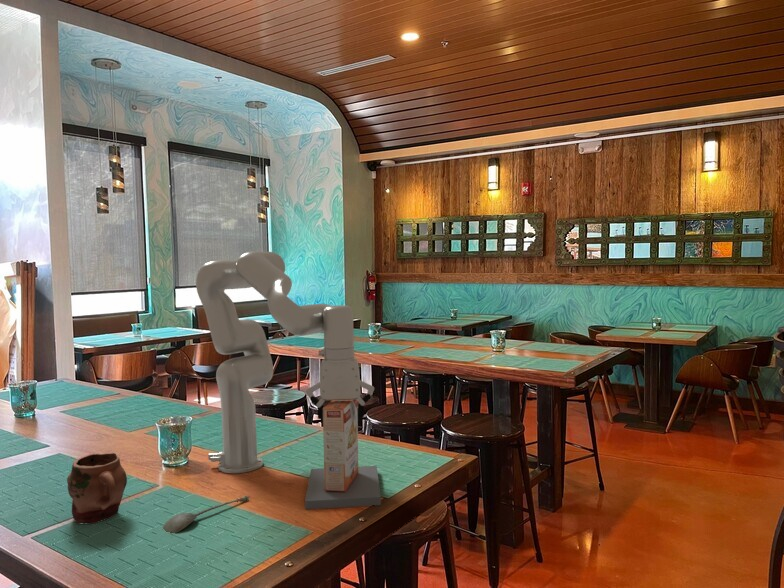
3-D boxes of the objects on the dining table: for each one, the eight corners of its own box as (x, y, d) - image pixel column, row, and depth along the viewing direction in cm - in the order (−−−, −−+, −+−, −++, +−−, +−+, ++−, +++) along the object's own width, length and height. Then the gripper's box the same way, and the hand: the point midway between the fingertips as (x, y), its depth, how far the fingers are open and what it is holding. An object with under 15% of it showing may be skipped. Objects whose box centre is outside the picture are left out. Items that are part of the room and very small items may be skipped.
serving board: (305, 509, 139) (304, 501, 139) (311, 476, 161) (310, 468, 161) (381, 505, 140) (380, 496, 140) (376, 472, 162) (376, 465, 162)
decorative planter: (146, 519, 136) (143, 460, 136) (92, 539, 127) (89, 475, 126) (105, 499, 149) (102, 445, 148) (54, 516, 139) (50, 458, 139)
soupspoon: (156, 532, 132) (171, 542, 127) (155, 518, 131) (170, 527, 127) (240, 498, 148) (255, 505, 144) (239, 485, 148) (255, 492, 143)
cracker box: (347, 492, 143) (344, 408, 142) (323, 491, 144) (320, 407, 143) (360, 472, 157) (358, 395, 156) (338, 471, 158) (336, 394, 157)
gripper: (303, 357, 145) (306, 426, 146) (374, 355, 146) (375, 423, 147) (306, 353, 152) (308, 418, 153) (372, 350, 153) (374, 415, 154)
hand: (341, 420), depth 150 cm, fingers open, 9 cm apart
